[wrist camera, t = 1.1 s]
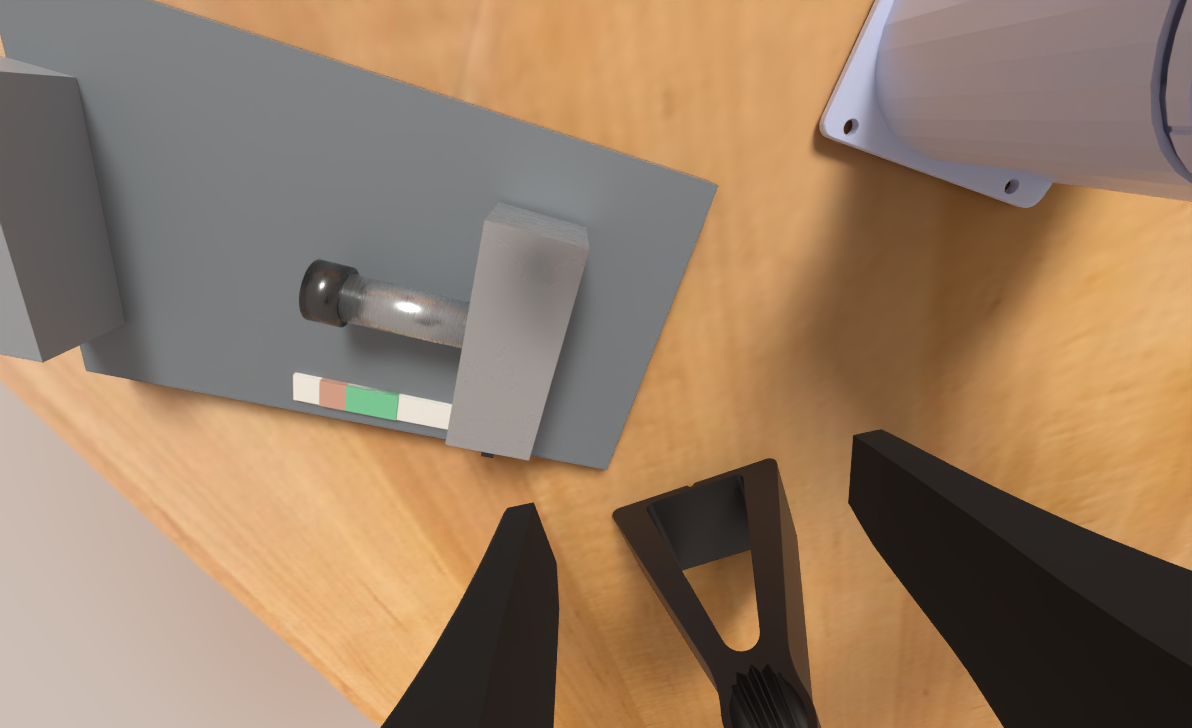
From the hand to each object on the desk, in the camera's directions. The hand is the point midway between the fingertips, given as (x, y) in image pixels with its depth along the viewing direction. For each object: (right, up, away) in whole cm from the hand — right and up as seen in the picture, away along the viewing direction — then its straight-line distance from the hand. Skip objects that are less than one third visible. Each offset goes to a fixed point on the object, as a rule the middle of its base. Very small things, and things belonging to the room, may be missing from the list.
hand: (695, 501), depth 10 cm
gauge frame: (-10, +7, +8) cm, 14 cm away
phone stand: (+4, -6, +15) cm, 17 cm away
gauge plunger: (-8, +4, +7) cm, 11 cm away
